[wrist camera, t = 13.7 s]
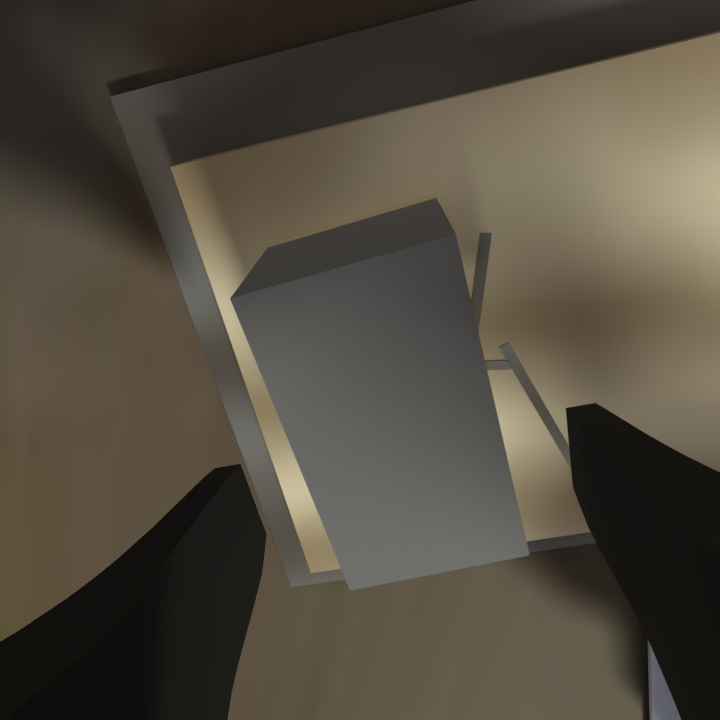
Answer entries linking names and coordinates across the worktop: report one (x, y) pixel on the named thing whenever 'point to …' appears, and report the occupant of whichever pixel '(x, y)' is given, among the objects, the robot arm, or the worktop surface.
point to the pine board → (471, 217)
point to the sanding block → (385, 393)
